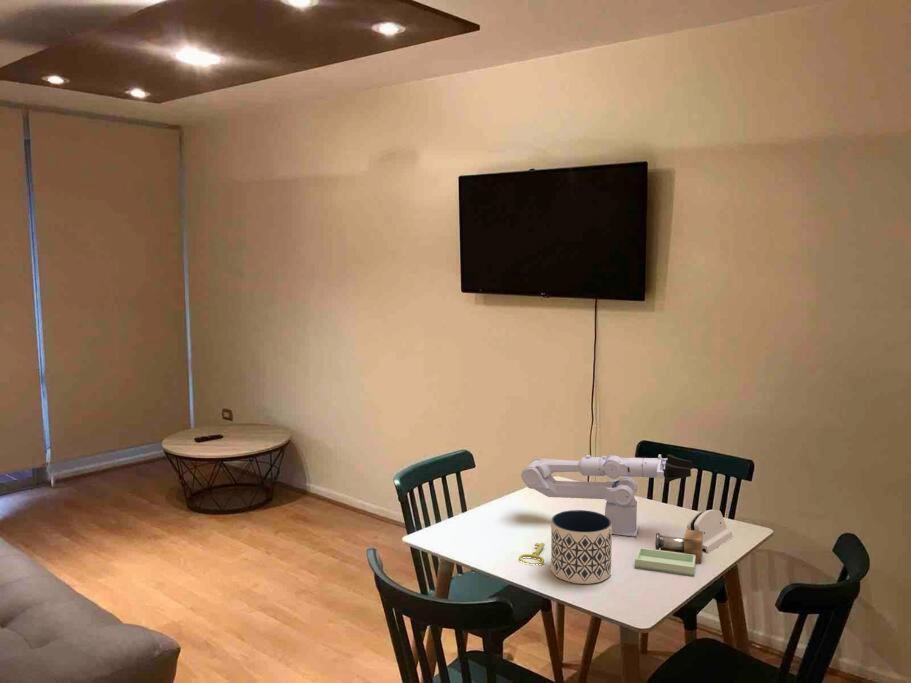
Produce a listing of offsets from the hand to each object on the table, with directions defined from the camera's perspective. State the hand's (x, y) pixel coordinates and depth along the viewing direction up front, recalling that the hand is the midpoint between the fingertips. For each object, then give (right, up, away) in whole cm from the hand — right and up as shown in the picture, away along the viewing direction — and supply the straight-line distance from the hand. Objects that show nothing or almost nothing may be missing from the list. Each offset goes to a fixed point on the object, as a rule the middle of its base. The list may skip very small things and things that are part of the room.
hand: (691, 468), depth 213 cm
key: (-47, -24, -8) cm, 53 cm away
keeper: (-6, -23, -8) cm, 25 cm away
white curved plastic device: (+5, -22, +1) cm, 23 cm away
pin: (-7, -22, -8) cm, 24 cm away
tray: (-12, -24, -15) cm, 30 cm away
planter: (-35, -25, -17) cm, 47 cm away
